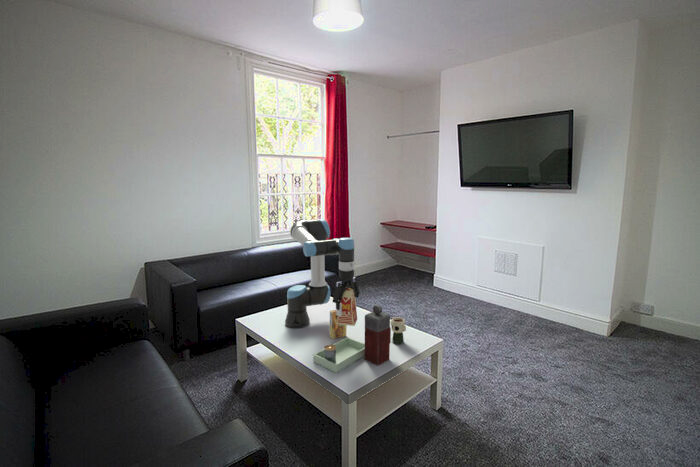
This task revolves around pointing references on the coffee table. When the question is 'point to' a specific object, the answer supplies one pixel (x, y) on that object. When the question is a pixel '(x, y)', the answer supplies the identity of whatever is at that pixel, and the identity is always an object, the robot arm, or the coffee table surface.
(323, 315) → the coffee table surface
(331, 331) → the candy box
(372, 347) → the toy vending machine
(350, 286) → the robot arm
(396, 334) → the character mug
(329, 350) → the coffee tin
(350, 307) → the milk carton
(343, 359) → the pale green tray
